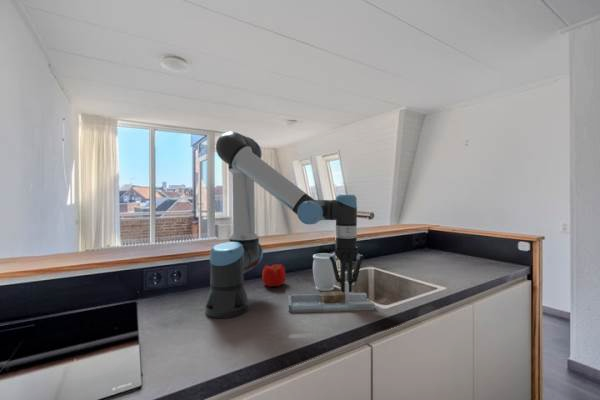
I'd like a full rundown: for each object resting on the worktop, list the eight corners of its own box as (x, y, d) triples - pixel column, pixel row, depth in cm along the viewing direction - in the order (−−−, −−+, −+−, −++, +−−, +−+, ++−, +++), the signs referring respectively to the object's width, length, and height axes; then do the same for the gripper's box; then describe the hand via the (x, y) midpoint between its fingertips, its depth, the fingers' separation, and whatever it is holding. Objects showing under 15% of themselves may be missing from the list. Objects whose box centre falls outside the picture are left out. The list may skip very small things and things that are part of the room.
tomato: (265, 290, 120) (265, 269, 120) (260, 282, 131) (260, 263, 131) (289, 287, 123) (289, 267, 123) (282, 280, 135) (282, 261, 134)
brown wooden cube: (334, 306, 100) (334, 295, 100) (332, 301, 104) (332, 291, 104) (345, 306, 101) (345, 295, 100) (342, 301, 105) (342, 291, 104)
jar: (335, 295, 114) (335, 258, 114) (310, 293, 116) (310, 257, 116) (337, 286, 125) (337, 253, 124) (314, 285, 127) (314, 252, 126)
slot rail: (288, 314, 96) (288, 306, 96) (288, 302, 107) (288, 294, 107) (374, 312, 97) (374, 303, 97) (365, 300, 108) (365, 292, 108)
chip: (323, 306, 100) (323, 295, 100) (321, 302, 104) (321, 291, 104) (334, 306, 100) (334, 295, 100) (332, 302, 104) (332, 291, 104)
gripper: (330, 238, 98) (330, 305, 98) (366, 238, 99) (366, 304, 99) (327, 235, 105) (326, 297, 106) (360, 235, 106) (360, 296, 107)
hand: (346, 300), depth 102 cm, fingers closed
